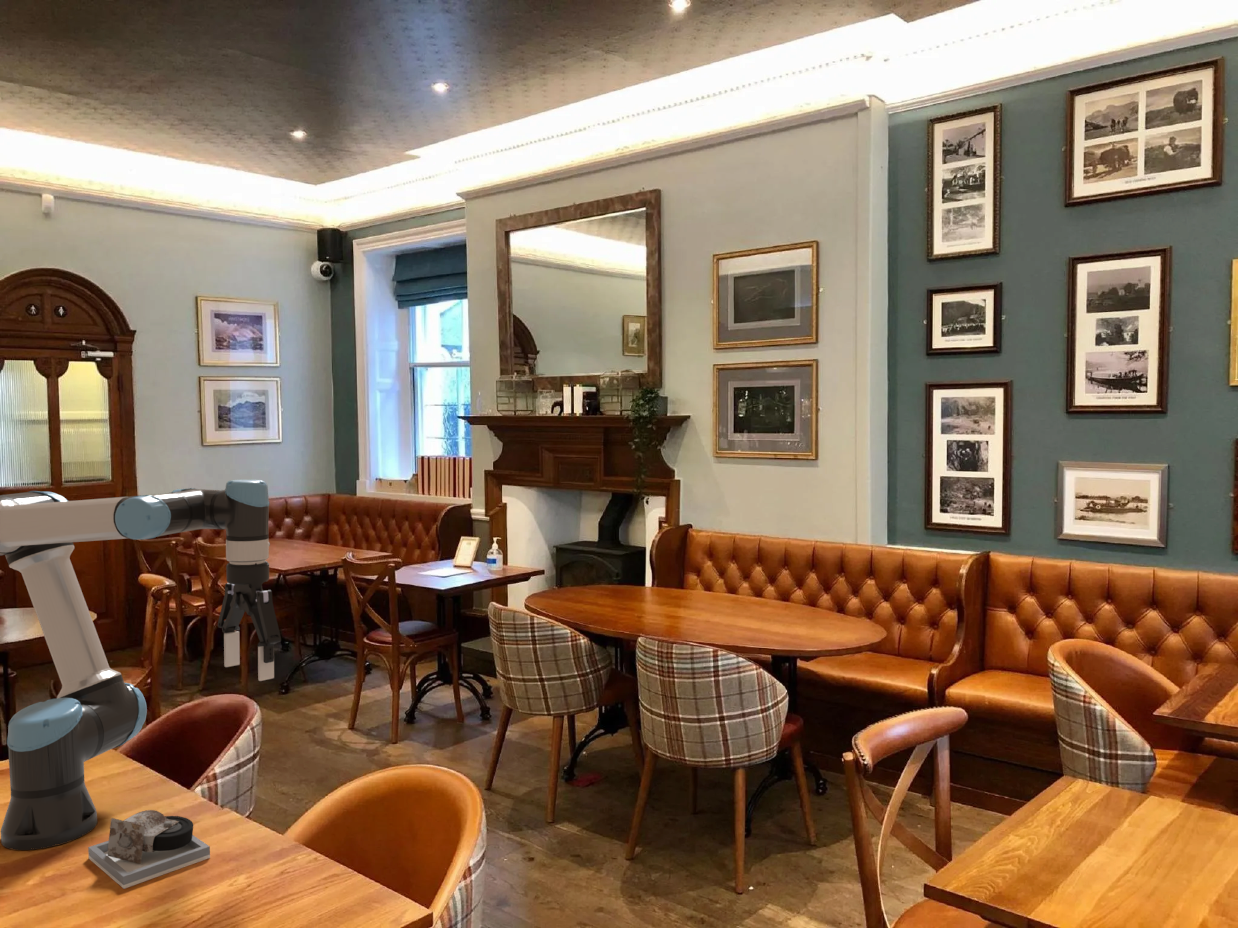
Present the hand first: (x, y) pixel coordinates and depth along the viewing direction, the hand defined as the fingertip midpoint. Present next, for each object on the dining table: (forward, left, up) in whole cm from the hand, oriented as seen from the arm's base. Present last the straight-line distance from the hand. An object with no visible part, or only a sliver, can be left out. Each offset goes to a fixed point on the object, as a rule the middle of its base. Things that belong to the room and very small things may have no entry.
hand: (248, 672), depth 176 cm
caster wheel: (+3, -19, -27) cm, 33 cm away
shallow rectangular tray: (+3, -20, -28) cm, 34 cm away
